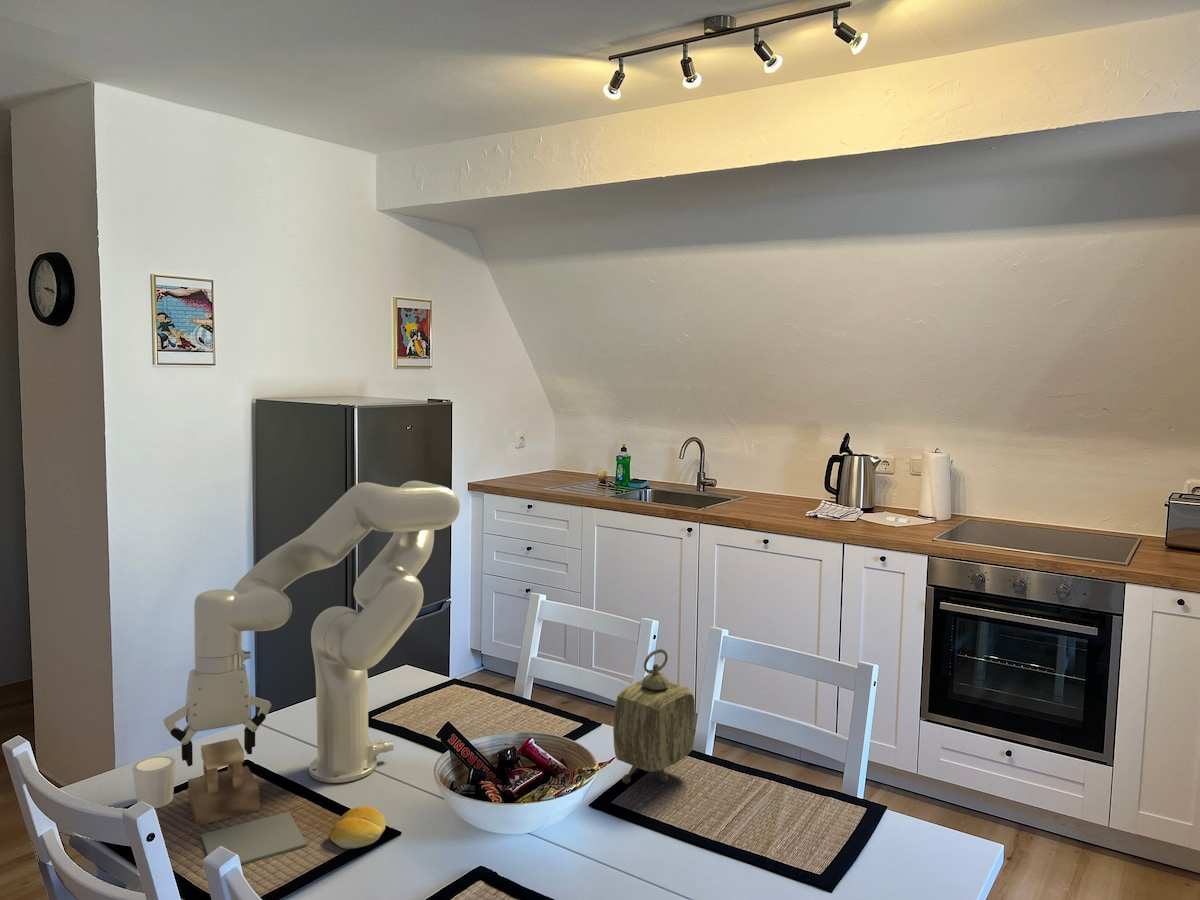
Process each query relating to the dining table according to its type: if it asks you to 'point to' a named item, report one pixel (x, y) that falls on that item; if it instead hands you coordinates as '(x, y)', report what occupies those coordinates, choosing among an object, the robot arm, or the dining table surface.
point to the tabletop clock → (653, 723)
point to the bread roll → (358, 828)
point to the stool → (222, 762)
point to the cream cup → (154, 780)
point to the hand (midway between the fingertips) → (219, 757)
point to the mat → (257, 838)
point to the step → (223, 798)
